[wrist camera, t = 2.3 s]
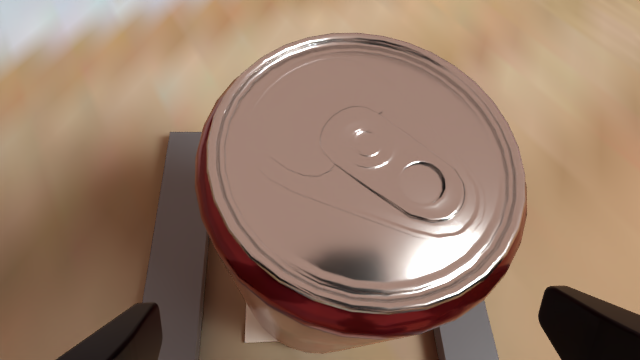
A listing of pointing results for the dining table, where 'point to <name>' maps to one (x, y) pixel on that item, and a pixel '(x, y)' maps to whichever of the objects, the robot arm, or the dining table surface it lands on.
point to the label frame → (188, 298)
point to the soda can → (359, 191)
